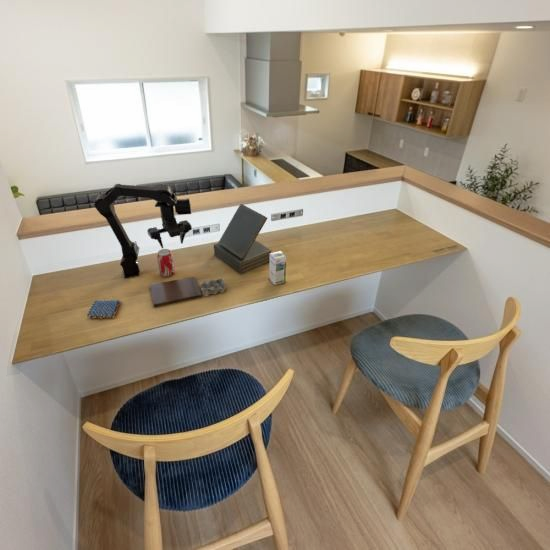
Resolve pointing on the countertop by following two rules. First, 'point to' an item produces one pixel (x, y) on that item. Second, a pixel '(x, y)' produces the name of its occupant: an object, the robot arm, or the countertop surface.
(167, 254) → the soda can
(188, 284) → the cutting board
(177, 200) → the robot arm
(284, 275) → the milk carton
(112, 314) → the woven mat
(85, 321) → the countertop surface
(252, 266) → the dark grey display stand
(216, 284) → the grey lumpy block
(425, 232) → the countertop surface
